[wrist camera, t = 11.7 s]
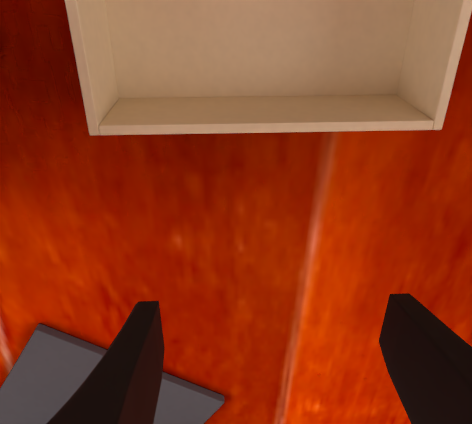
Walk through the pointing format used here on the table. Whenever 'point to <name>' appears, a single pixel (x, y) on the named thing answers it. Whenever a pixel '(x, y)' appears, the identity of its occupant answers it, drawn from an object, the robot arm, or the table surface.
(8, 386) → the mat
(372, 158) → the table surface
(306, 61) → the carton
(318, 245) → the table surface
